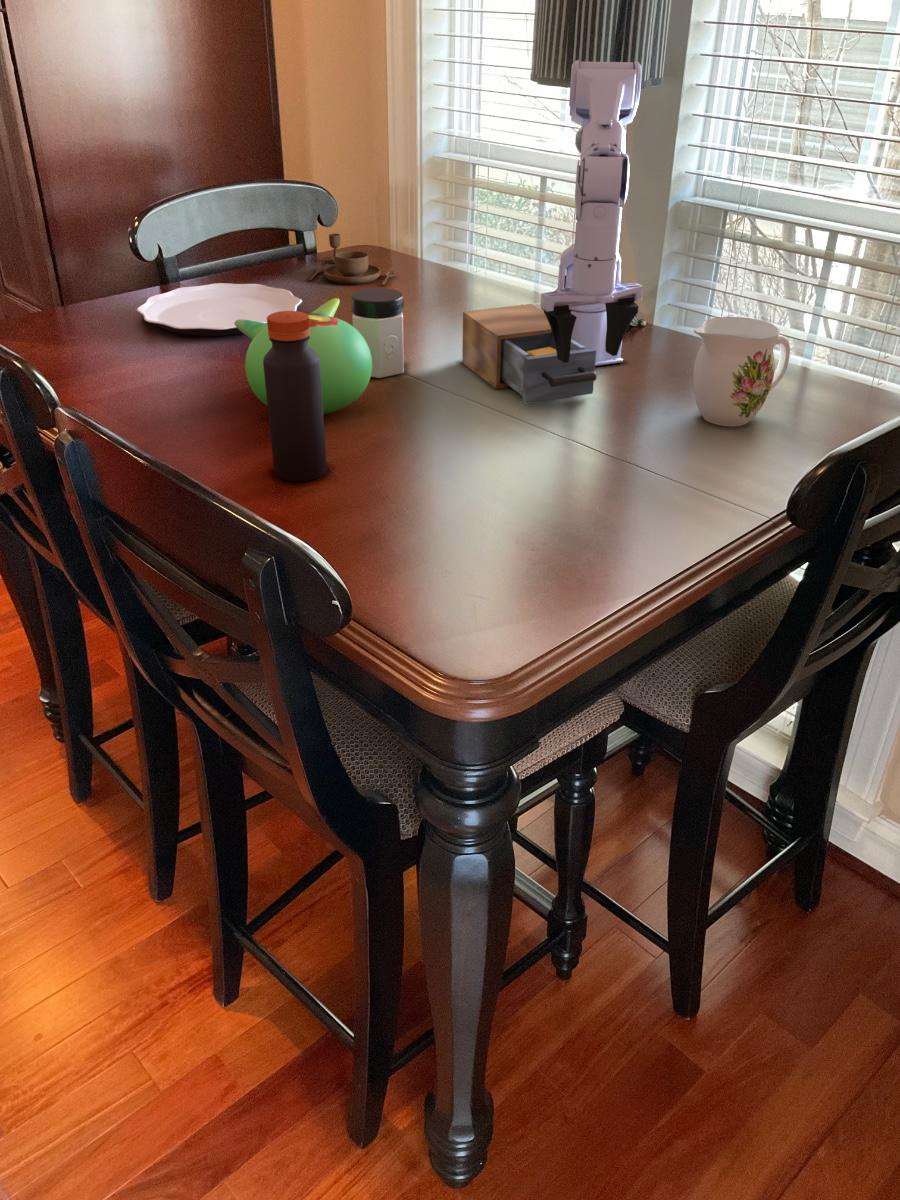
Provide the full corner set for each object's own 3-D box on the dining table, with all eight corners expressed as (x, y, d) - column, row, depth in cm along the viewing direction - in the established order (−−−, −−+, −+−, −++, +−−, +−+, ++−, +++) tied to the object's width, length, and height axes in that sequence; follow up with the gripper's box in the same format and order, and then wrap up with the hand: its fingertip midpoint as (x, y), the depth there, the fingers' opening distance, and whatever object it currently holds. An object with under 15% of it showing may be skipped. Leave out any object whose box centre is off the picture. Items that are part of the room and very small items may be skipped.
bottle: (264, 478, 124) (247, 321, 113) (290, 457, 130) (276, 305, 119) (312, 486, 122) (299, 328, 111) (336, 465, 127) (326, 311, 117)
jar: (367, 382, 154) (364, 305, 147) (343, 367, 159) (339, 292, 153) (416, 371, 158) (415, 296, 151) (390, 357, 164) (388, 284, 157)
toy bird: (266, 440, 134) (255, 334, 126) (237, 399, 147) (226, 301, 139) (389, 421, 140) (385, 319, 132) (351, 383, 153) (346, 288, 145)
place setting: (303, 283, 202) (301, 254, 199) (329, 260, 219) (327, 232, 216) (386, 287, 200) (385, 258, 197) (405, 263, 216) (405, 236, 213)
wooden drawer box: (566, 378, 155) (570, 326, 151) (495, 389, 151) (497, 335, 147) (529, 353, 166) (531, 303, 161) (462, 362, 162) (462, 311, 157)
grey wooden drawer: (606, 403, 144) (610, 358, 141) (538, 413, 141) (541, 368, 137) (554, 367, 157) (557, 326, 153) (491, 376, 153) (492, 334, 150)
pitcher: (804, 418, 142) (824, 324, 134) (707, 441, 135) (723, 342, 127) (752, 394, 150) (768, 304, 143) (658, 414, 143) (670, 320, 135)
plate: (333, 310, 186) (332, 298, 185) (225, 352, 165) (223, 338, 164) (219, 287, 199) (218, 275, 198) (106, 323, 178) (103, 310, 177)
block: (565, 382, 148) (567, 354, 146) (542, 388, 146) (543, 359, 144) (547, 374, 151) (549, 346, 149) (524, 379, 149) (526, 351, 147)
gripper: (560, 267, 123) (554, 372, 130) (659, 257, 127) (647, 359, 135) (535, 255, 128) (530, 356, 136) (631, 246, 133) (621, 344, 140)
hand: (587, 356), depth 136 cm, fingers open, 7 cm apart
